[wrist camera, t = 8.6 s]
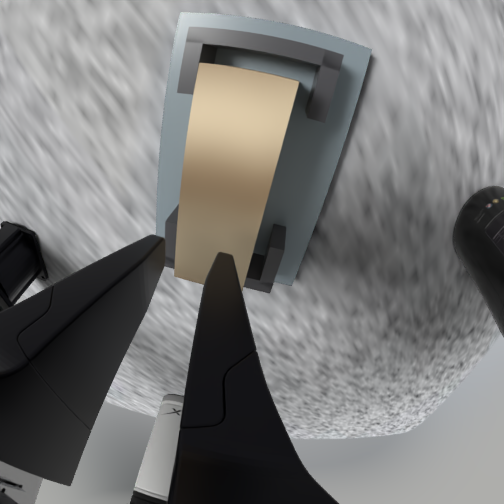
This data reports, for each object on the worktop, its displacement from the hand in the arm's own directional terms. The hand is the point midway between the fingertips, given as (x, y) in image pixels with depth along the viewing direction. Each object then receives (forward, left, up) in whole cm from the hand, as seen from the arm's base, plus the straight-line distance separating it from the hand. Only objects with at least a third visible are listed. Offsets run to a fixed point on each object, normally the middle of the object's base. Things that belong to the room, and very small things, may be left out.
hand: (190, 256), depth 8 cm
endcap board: (0, 0, -10) cm, 10 cm away
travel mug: (-38, +3, -10) cm, 39 cm away
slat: (0, 0, -9) cm, 9 cm away
